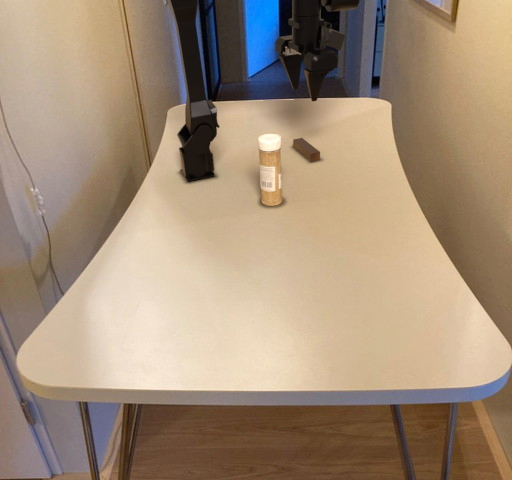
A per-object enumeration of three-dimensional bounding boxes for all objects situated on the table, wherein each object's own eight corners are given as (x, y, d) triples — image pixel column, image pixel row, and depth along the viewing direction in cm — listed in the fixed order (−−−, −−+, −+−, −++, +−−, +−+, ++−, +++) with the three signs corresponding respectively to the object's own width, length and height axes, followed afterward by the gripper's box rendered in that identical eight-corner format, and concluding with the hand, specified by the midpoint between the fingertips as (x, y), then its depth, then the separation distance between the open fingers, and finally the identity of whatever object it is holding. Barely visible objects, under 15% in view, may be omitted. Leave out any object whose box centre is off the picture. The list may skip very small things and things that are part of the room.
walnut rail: (310, 162, 128) (311, 153, 126) (293, 147, 135) (293, 139, 134) (320, 160, 128) (320, 151, 127) (301, 145, 135) (302, 137, 134)
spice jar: (287, 201, 114) (286, 136, 105) (271, 209, 111) (269, 143, 103) (271, 194, 116) (269, 130, 107) (256, 202, 114) (252, 137, 105)
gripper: (365, 17, 106) (358, 101, 116) (320, 2, 119) (317, 78, 130) (313, 24, 103) (311, 109, 113) (273, 7, 116) (274, 85, 127)
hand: (304, 95), depth 121 cm, fingers open, 9 cm apart
